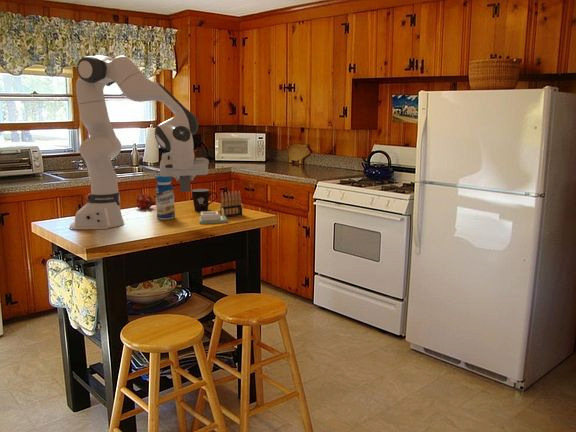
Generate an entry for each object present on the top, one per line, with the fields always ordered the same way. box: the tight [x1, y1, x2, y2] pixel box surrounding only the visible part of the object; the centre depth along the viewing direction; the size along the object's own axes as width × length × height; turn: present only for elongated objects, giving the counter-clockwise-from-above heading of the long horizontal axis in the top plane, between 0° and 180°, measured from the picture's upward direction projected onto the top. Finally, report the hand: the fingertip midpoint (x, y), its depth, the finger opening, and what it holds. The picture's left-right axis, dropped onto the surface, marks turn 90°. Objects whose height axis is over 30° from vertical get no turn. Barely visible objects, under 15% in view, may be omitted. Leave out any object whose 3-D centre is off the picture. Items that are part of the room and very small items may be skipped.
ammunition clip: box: [219, 190, 243, 218], centre depth 259 cm, size 11×2×12 cm, turn 123°
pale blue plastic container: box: [198, 208, 228, 225], centre depth 249 cm, size 12×10×5 cm
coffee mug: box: [191, 188, 218, 212], centre depth 274 cm, size 12×9×10 cm
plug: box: [179, 175, 192, 193], centre depth 240 cm, size 4×4×9 cm
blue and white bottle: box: [154, 174, 176, 221], centre depth 256 cm, size 8×8×20 cm
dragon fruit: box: [135, 192, 156, 211], centre depth 281 cm, size 8×8×12 cm
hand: (184, 179), depth 240 cm, fingers closed on plug, 4 cm apart
